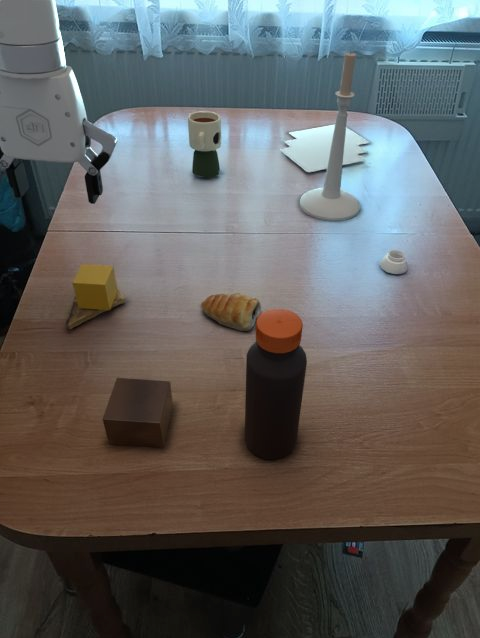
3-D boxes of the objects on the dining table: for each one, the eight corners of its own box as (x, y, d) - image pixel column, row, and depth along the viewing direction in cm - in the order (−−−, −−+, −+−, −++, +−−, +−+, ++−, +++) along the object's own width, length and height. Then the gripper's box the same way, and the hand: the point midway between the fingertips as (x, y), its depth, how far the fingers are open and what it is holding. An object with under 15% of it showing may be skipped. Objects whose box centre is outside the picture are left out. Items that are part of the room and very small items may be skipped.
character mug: (218, 186, 120) (217, 127, 111) (186, 184, 120) (182, 125, 111) (224, 165, 128) (224, 108, 119) (195, 163, 128) (192, 106, 119)
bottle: (280, 412, 74) (290, 295, 60) (306, 448, 69) (324, 332, 56) (235, 429, 71) (235, 312, 57) (259, 468, 67) (266, 352, 53)
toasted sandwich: (67, 332, 83) (64, 324, 82) (43, 308, 87) (41, 300, 86) (127, 304, 89) (126, 295, 88) (103, 283, 93) (101, 274, 92)
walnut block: (108, 444, 69) (102, 419, 65) (122, 402, 74) (116, 377, 70) (163, 448, 68) (159, 423, 65) (173, 406, 74) (170, 380, 70)
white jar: (398, 258, 102) (374, 262, 101) (401, 245, 100) (377, 249, 99) (411, 273, 99) (387, 277, 97) (415, 259, 97) (391, 264, 95)
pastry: (195, 321, 86) (194, 302, 84) (211, 297, 91) (210, 278, 89) (250, 335, 85) (251, 316, 82) (263, 309, 89) (264, 291, 87)
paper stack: (260, 137, 140) (260, 135, 140) (340, 123, 149) (340, 121, 149) (307, 175, 125) (307, 172, 125) (392, 157, 135) (393, 154, 134)
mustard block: (78, 308, 85) (72, 282, 81) (87, 289, 89) (81, 263, 85) (110, 310, 85) (104, 284, 81) (117, 291, 88) (113, 265, 85)
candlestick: (333, 186, 122) (354, 38, 102) (371, 211, 115) (402, 56, 94) (287, 200, 117) (300, 46, 96) (325, 227, 109) (347, 66, 89)
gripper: (-65, 58, 58) (-19, 204, 69) (97, 71, 58) (116, 215, 69) (-34, 39, 63) (4, 178, 75) (114, 52, 63) (129, 188, 75)
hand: (58, 196), depth 72 cm, fingers open, 9 cm apart
